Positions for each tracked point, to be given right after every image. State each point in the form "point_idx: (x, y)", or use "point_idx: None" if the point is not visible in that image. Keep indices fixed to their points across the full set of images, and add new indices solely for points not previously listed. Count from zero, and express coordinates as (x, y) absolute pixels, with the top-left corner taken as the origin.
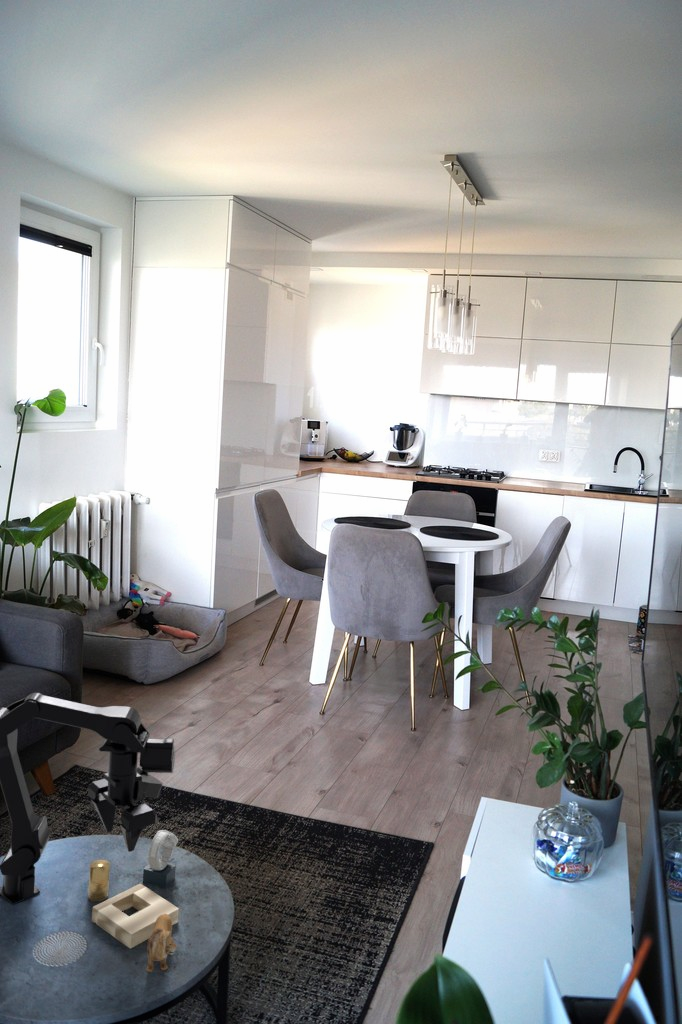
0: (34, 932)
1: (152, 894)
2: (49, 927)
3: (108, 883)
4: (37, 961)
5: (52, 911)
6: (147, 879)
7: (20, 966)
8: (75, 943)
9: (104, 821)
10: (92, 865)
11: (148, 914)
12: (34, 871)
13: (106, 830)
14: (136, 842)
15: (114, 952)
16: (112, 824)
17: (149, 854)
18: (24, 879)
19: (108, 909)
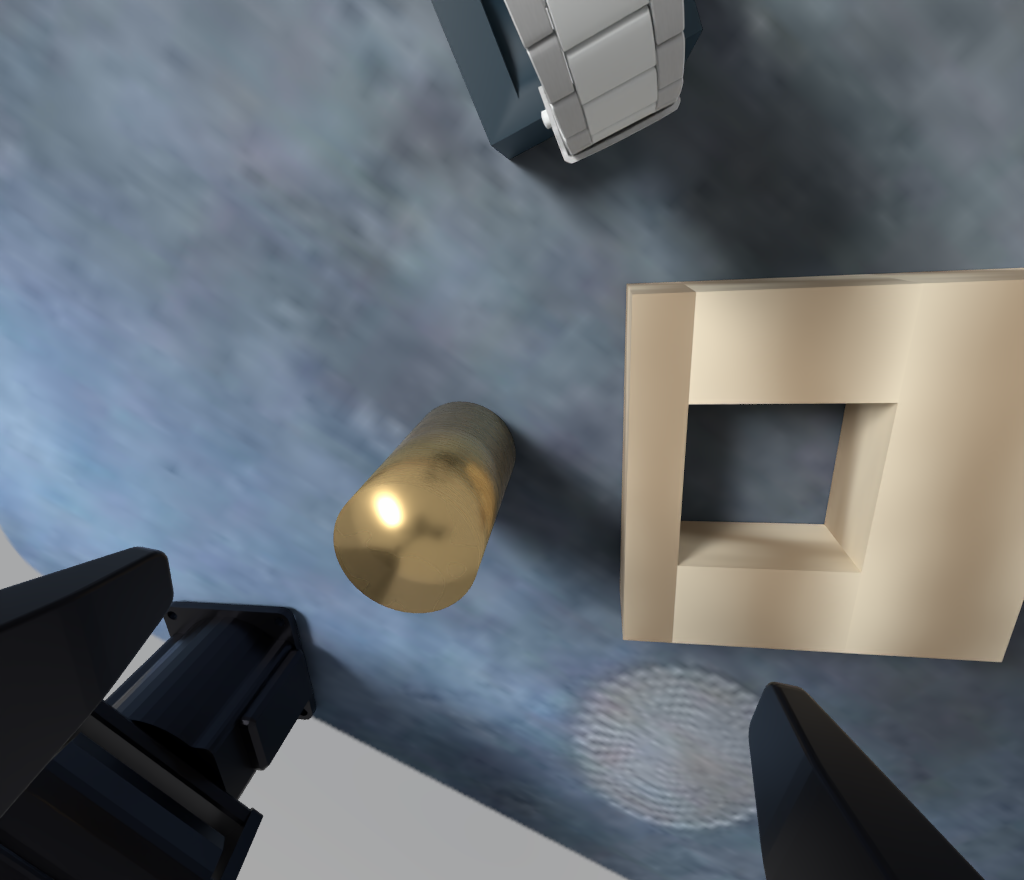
0: (522, 752)
1: (811, 314)
2: (532, 708)
3: (487, 452)
4: (678, 829)
5: (444, 646)
6: (539, 138)
7: (657, 865)
8: (699, 710)
9: (3, 795)
10: (381, 590)
11: (960, 484)
12: (226, 733)
13: (144, 635)
14: (935, 839)
15: (893, 656)
16: (73, 619)
17: (579, 150)
18: (257, 766)
19: (706, 603)
